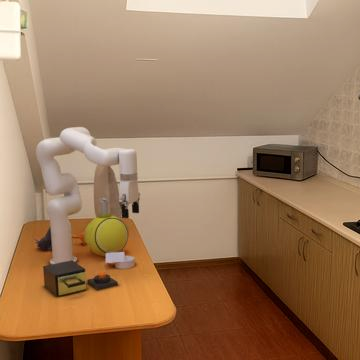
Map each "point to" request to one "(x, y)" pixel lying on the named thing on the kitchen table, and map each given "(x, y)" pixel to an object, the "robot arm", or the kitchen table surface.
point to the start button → (102, 275)
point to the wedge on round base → (120, 260)
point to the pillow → (106, 191)
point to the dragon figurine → (47, 242)
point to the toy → (106, 232)
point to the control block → (102, 282)
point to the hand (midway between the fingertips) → (130, 215)
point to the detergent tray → (71, 282)
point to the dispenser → (59, 274)
